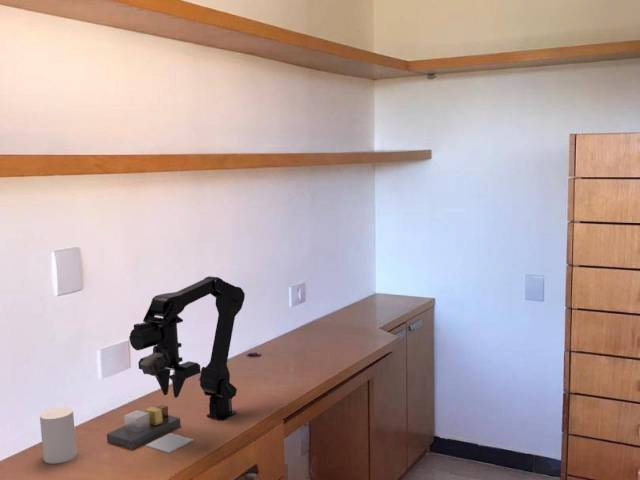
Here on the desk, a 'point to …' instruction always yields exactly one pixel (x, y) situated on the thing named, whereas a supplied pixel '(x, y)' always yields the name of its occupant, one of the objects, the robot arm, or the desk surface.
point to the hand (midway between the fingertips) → (171, 396)
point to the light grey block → (137, 421)
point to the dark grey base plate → (144, 432)
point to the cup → (58, 435)
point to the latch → (154, 415)
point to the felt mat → (169, 443)
